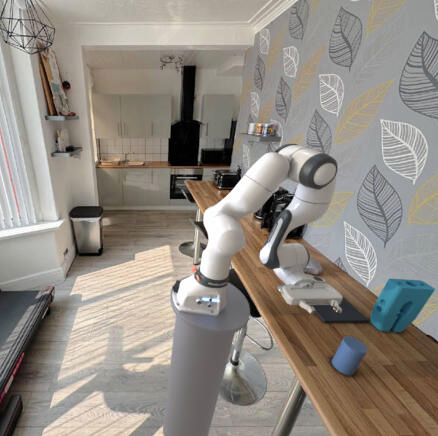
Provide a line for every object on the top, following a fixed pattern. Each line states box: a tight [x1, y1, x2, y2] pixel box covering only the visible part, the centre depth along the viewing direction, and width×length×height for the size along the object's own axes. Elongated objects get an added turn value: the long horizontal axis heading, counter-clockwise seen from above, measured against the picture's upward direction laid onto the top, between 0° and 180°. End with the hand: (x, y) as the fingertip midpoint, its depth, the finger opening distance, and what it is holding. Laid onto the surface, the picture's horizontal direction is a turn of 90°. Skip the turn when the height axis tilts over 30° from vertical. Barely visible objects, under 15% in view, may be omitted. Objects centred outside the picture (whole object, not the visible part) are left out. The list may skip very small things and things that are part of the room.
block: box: [369, 278, 436, 333], centre depth 85 cm, size 12×5×20 cm, turn 88°
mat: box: [309, 297, 370, 323], centre depth 96 cm, size 18×14×1 cm
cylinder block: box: [331, 335, 368, 377], centre depth 72 cm, size 6×6×10 cm
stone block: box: [303, 256, 323, 275], centre depth 122 cm, size 12×5×10 cm
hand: (326, 311), depth 80 cm, fingers open, 8 cm apart
